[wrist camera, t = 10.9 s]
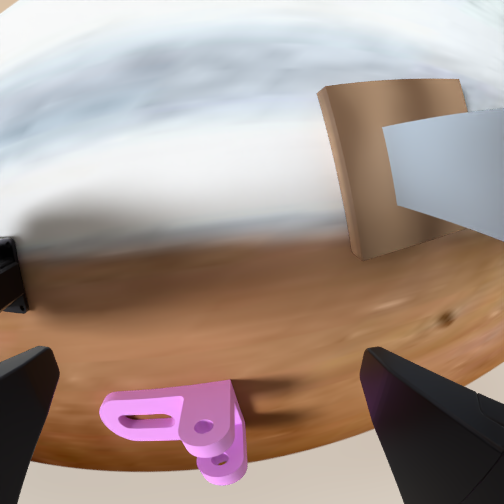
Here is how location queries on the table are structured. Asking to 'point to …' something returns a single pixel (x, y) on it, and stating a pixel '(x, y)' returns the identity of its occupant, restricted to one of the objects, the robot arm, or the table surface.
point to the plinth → (382, 157)
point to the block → (452, 168)
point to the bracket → (186, 424)
